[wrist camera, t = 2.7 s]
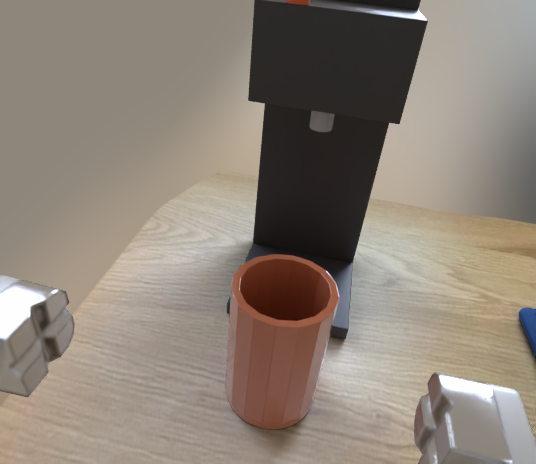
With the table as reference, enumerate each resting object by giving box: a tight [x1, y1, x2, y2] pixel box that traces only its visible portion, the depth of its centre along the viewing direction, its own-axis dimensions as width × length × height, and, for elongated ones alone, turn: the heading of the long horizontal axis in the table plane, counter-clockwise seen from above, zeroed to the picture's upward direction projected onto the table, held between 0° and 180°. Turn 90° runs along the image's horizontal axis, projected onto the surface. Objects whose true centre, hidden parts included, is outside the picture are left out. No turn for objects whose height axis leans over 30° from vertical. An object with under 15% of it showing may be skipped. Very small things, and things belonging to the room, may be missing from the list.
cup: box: [226, 254, 339, 429], centre depth 27 cm, size 6×6×10 cm
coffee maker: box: [227, 0, 428, 339], centre depth 32 cm, size 12×10×24 cm
